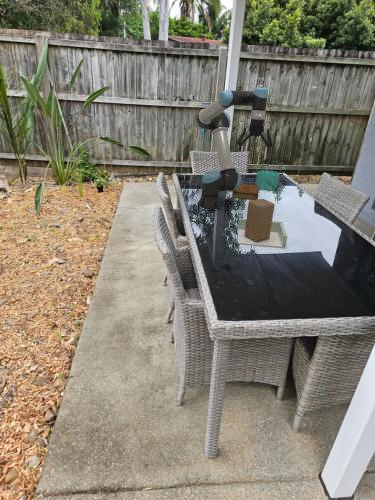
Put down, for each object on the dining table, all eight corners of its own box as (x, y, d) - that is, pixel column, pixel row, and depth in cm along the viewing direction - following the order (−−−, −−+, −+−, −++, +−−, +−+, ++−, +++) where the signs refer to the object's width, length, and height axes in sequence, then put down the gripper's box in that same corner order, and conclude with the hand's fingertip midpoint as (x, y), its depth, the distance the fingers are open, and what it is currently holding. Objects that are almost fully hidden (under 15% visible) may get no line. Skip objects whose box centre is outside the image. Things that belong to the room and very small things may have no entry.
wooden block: (258, 232, 182) (263, 197, 173) (269, 239, 174) (275, 203, 165) (243, 235, 178) (247, 199, 169) (254, 242, 170) (260, 205, 161)
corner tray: (238, 244, 169) (239, 232, 166) (237, 229, 187) (239, 218, 184) (285, 248, 167) (287, 236, 164) (280, 232, 184) (282, 221, 181)
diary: (257, 201, 237) (258, 193, 235) (231, 199, 240) (232, 191, 237) (257, 192, 258) (258, 185, 255) (233, 190, 260) (234, 183, 258)
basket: (260, 183, 280) (263, 168, 274) (281, 187, 270) (283, 172, 265) (251, 188, 266) (253, 172, 260) (272, 192, 256) (274, 176, 250)
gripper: (234, 118, 177) (231, 157, 186) (281, 120, 174) (275, 160, 184) (234, 117, 184) (231, 155, 193) (279, 119, 181) (274, 158, 191)
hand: (252, 158), depth 189 cm, fingers open, 13 cm apart
